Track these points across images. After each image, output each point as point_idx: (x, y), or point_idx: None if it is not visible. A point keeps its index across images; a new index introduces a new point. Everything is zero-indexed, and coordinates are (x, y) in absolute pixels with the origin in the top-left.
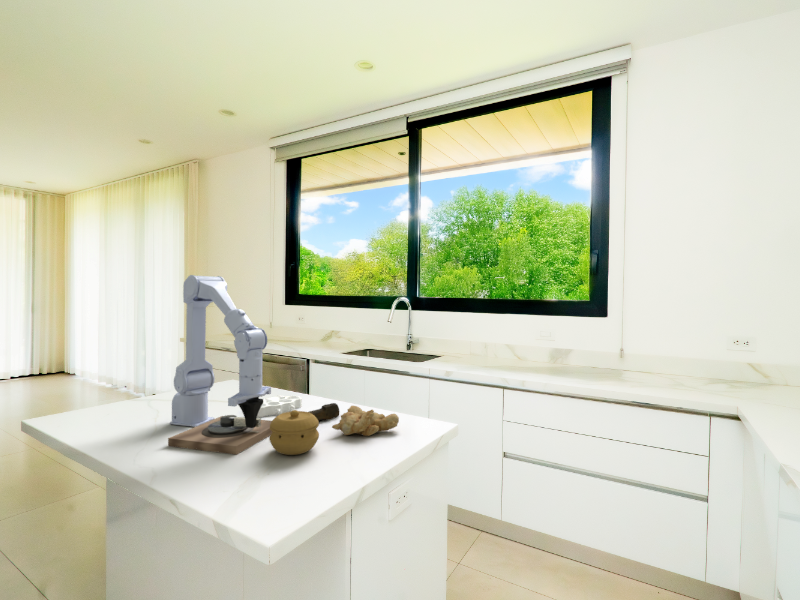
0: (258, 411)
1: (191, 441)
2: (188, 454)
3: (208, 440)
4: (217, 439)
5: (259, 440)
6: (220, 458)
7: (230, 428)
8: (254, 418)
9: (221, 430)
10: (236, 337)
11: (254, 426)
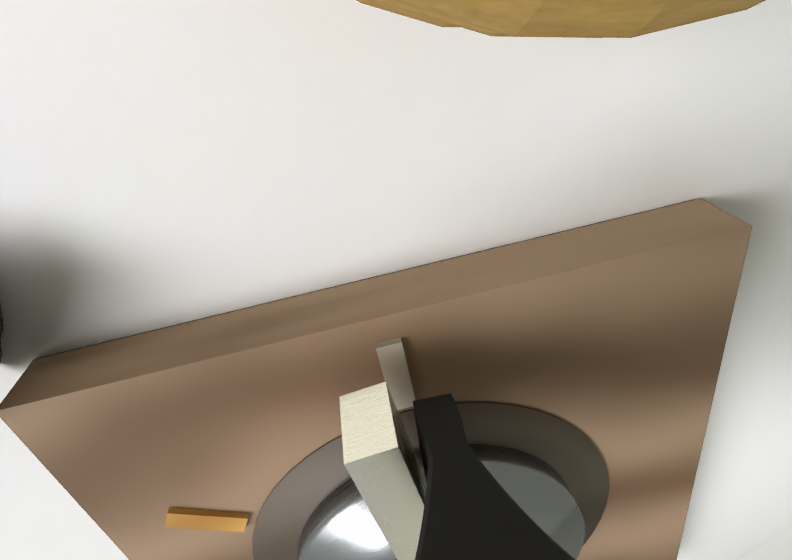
0: (430, 544)
1: (686, 507)
2: (729, 423)
3: (663, 460)
4: (632, 439)
5: (400, 275)
6: (776, 238)
7: None
8: (473, 466)
9: (575, 509)
10: None
11: (425, 404)
